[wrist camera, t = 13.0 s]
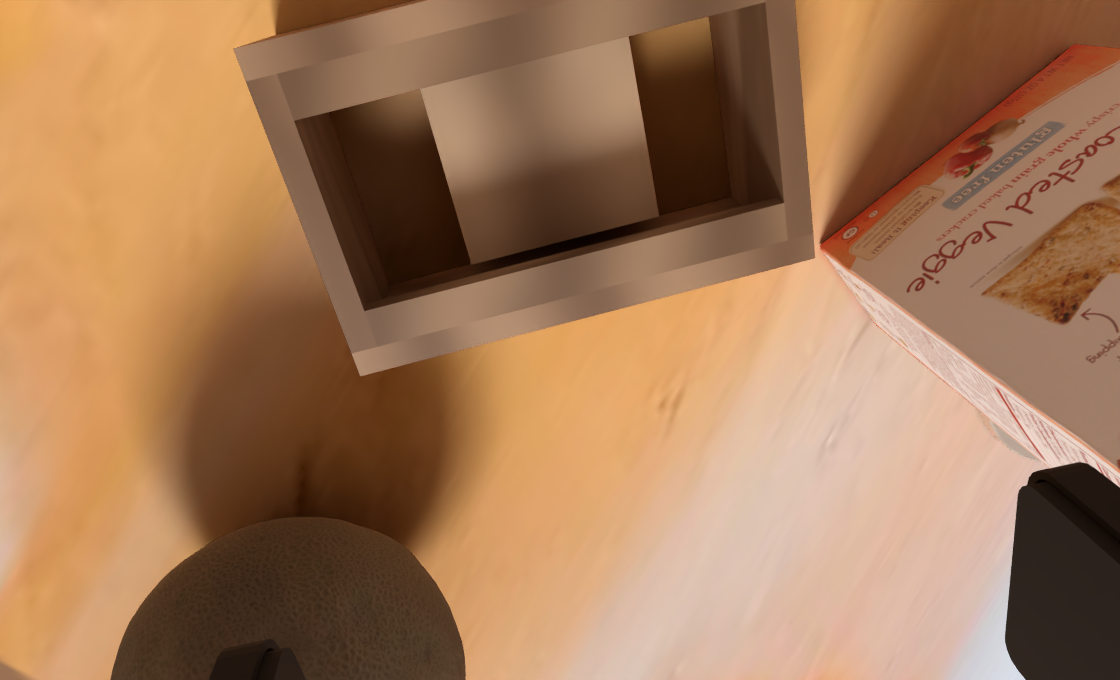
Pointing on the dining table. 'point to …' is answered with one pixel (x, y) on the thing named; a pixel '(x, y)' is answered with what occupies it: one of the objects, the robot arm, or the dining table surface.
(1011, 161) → the cracker box
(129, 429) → the dining table surface
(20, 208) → the dining table surface
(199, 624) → the dark grey rounded lump
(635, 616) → the dining table surface
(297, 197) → the crate
